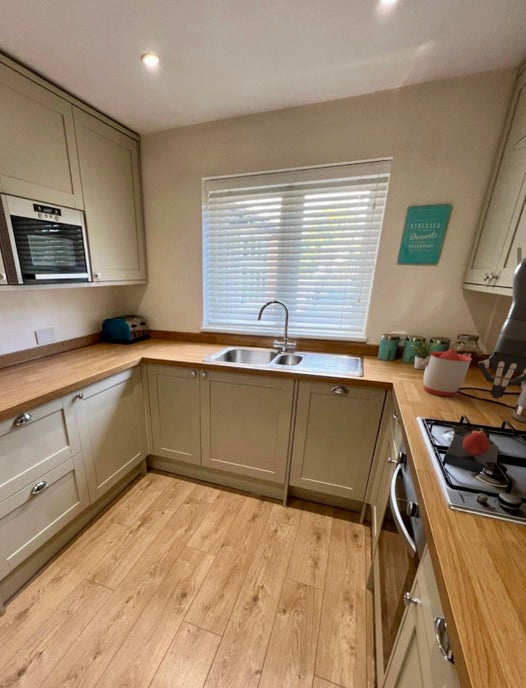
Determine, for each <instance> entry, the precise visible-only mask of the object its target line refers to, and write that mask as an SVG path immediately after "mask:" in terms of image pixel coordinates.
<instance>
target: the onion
mask: <svg viewBox="0 0 526 688" xmlns="http://www.w3.org/2000/svg"><path fill="white" fill-rule="evenodd" d="M470 433H471V434H469V435H468V436H466V437H465V438H464V440H463V446H464V449H465V450H466V451H467V452H468V453H469V454H470V455H471V456H477V455H481V454H484V453H486V452H487V451H488V450H489V447H490V444H491V441H490V442H489V439H490V438H488V437H487V436H486V434H485V433H484V430H479V432H475V433H472V432H470ZM484 434H485V435H484Z"/></svg>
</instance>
